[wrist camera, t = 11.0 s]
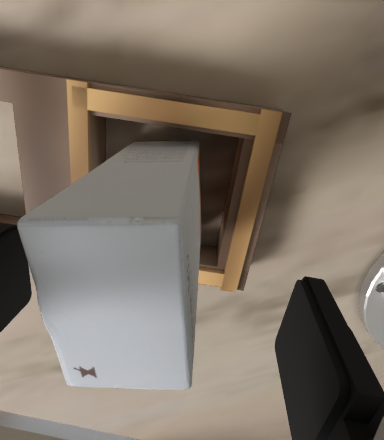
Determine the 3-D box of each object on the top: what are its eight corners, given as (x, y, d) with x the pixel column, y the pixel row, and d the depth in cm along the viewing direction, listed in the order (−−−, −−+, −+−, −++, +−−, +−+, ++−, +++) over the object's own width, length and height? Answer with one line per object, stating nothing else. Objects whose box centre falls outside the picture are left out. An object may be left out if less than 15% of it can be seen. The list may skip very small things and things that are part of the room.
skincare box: (203, 226, 20) (193, 397, 9) (142, 227, 20) (61, 391, 9) (201, 136, 17) (184, 220, 6) (132, 138, 18) (3, 221, 7)
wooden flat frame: (280, 109, 16) (292, 114, 14) (239, 268, 21) (243, 293, 18) (-138, 45, 16) (-203, 38, 14) (-85, 219, 21) (-126, 237, 18)
